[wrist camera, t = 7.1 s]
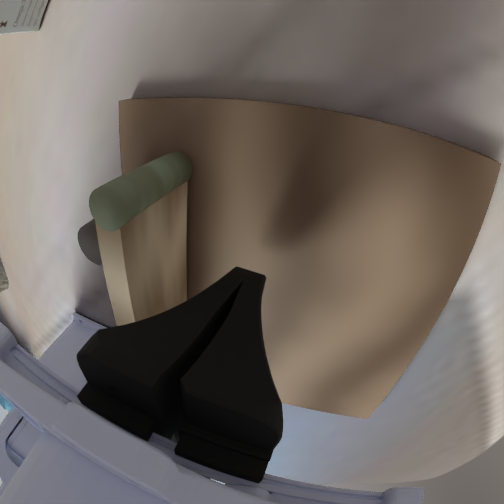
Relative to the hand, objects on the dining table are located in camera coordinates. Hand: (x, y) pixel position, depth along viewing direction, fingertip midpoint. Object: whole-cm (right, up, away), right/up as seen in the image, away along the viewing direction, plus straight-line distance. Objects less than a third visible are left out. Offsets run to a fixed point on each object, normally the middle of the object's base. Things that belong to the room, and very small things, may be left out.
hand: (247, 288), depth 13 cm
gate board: (+2, -1, +4) cm, 4 cm away
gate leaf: (-4, 0, +4) cm, 6 cm away
